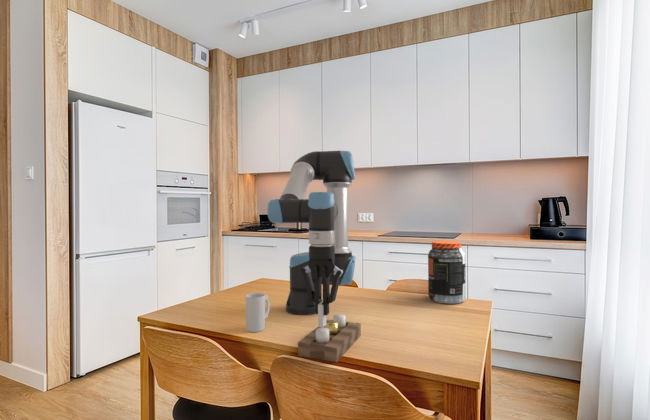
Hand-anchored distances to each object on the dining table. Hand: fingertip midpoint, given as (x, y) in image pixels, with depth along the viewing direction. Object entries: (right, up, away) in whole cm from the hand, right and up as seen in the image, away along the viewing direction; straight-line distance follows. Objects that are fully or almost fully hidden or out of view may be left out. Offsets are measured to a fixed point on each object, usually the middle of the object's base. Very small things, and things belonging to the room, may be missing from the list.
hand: (322, 325), depth 111 cm
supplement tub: (+55, -6, +58) cm, 80 cm away
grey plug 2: (+6, -5, +13) cm, 15 cm away
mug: (-22, -8, +23) cm, 33 cm away
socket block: (+3, -8, +7) cm, 11 cm away
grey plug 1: (0, -5, 0) cm, 5 cm away
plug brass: (+3, -5, +7) cm, 9 cm away
